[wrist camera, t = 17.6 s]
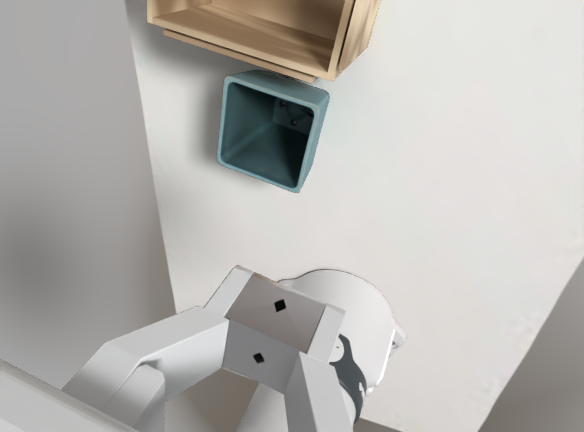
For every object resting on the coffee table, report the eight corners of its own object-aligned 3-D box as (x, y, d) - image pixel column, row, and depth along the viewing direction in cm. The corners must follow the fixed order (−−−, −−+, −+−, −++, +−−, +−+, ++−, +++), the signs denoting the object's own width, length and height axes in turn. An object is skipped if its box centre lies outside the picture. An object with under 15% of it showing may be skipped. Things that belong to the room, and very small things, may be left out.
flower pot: (265, 52, 42) (223, 74, 35) (347, 78, 40) (320, 107, 33) (254, 130, 47) (215, 163, 40) (326, 156, 45) (299, 195, 38)
